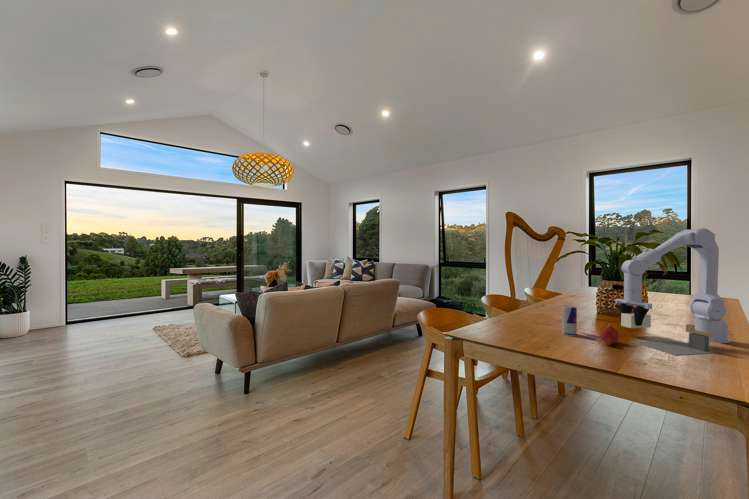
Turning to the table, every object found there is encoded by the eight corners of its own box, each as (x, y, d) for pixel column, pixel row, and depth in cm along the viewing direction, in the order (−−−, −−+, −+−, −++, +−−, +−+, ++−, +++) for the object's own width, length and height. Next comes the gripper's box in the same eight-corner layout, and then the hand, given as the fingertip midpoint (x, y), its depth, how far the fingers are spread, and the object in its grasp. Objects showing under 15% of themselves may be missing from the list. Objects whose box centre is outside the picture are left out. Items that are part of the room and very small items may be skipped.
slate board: (667, 341, 137) (667, 325, 137) (720, 355, 119) (720, 337, 119) (627, 343, 134) (627, 327, 134) (675, 357, 116) (675, 339, 116)
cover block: (640, 325, 143) (640, 312, 143) (650, 327, 139) (650, 314, 139) (621, 325, 142) (621, 313, 142) (631, 328, 137) (631, 315, 137)
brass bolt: (690, 331, 126) (690, 324, 126) (715, 336, 118) (715, 329, 118) (685, 331, 126) (685, 324, 126) (710, 337, 118) (710, 329, 118)
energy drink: (578, 337, 143) (578, 307, 143) (564, 336, 144) (564, 307, 144) (573, 333, 148) (574, 305, 148) (560, 333, 149) (560, 305, 149)
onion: (596, 343, 134) (596, 322, 134) (610, 342, 134) (610, 322, 134) (607, 347, 128) (608, 325, 128) (622, 347, 129) (622, 325, 128)
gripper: (609, 288, 146) (608, 320, 146) (641, 292, 132) (640, 328, 132) (623, 287, 148) (623, 320, 148) (656, 292, 133) (656, 327, 133)
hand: (632, 324), depth 140 cm, fingers closed on cover block, 4 cm apart
